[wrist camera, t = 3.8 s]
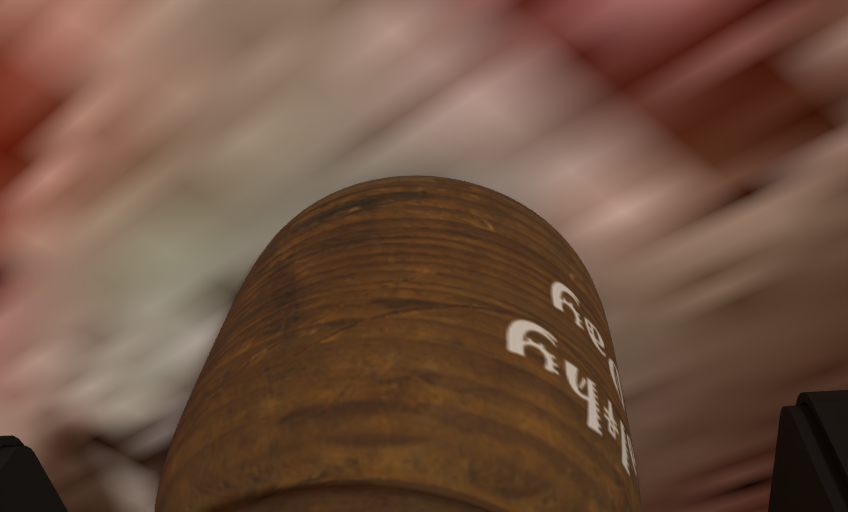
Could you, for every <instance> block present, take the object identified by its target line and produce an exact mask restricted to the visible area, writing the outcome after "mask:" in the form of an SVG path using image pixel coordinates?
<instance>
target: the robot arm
mask: <svg viewBox="0 0 848 512" xmlns="http://www.w3.org/2000/svg"><path fill="white" fill-rule="evenodd" d="M0 512H68V511H67V509H66V507H65V506H64V504H63V502H62V500H61V499H60V497H59V495H58V493H57V492H56V490H55V488H54V486H53V485H52V483H51V481H50V479H49V478H48V476H47V474H46V472H45V471H44V469H43V467H42V465H41V464H40V462H39V460H38V458H37V457H36V455H35V453H34V452H33V451H32V449H31V448H29V447H27V446H24V444H23V443H22V442H21V441H20V440H19V439H18V438H16V437H15V436H0ZM768 512H848V390H839V391H820V392H803V393H800V395H799V396H798V398H797V403H796V406H783V408H782V409H781V414H780V421H779V429H778V437H777V445H776V453H775V461H774V469H773V477H772V485H771V493H770V501H769V509H768Z"/></svg>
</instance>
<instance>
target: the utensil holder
mask: <svg viewBox="0 0 848 512" xmlns="http://www.w3.org/2000/svg"><path fill="white" fill-rule="evenodd" d="M155 512H642V511H641V500H640V491H639V483H638V477H637V470H636V464H635V458H634V452H633V447H632V441H631V436H630V430H629V425H628V419H627V414H626V409H625V404H624V398H623V393H622V388H621V383H620V378H619V373H618V368H617V363H616V358H615V353H614V348H613V343H612V339H611V335H610V331H609V327H608V323H607V320H606V316H605V313H604V310H603V306H602V303H601V300H600V298H599V295H598V293H597V291H596V288H595V286H594V283H593V281H592V279H591V277H590V275H589V273H588V271H587V269H586V267H585V266H584V264H583V263H582V261H581V260H580V258H579V257H578V255H577V254H576V252H575V251H574V250H573V248H572V247H571V246H570V245H569V243H568V242H567V241H566V240H565V239H564V238H563V237H562V236H561V235H560V233H559V232H558V231H557V230H555V229H554V228H553V227H552V226H551V225H550V224H549V223H548V222H546V221H545V220H544V219H543V218H541V217H540V216H539V215H537V214H536V213H535V212H533V211H532V210H530V209H529V208H527V207H526V206H524V205H522V204H521V203H519V202H517V201H515V200H513V199H511V198H510V197H508V196H505V195H503V194H501V193H499V192H496V191H494V190H491V189H488V188H486V187H483V186H480V185H476V184H473V183H469V182H465V181H461V180H456V179H450V178H443V177H435V176H398V177H388V178H382V179H376V180H371V181H367V182H363V183H359V184H356V185H353V186H350V187H347V188H344V189H342V190H340V191H337V192H335V193H333V194H330V195H329V196H327V197H325V198H323V199H321V200H319V201H317V202H316V203H314V204H312V205H311V206H309V207H308V208H306V209H305V210H303V211H302V212H301V213H300V214H298V215H297V216H296V217H294V218H293V219H292V220H291V221H290V222H289V223H288V224H287V225H286V226H285V227H283V228H282V229H281V230H280V231H279V233H278V234H277V235H276V236H275V237H274V238H273V239H272V241H271V242H270V243H269V245H268V246H267V247H266V249H265V250H264V251H263V253H262V254H261V255H260V257H259V258H258V260H257V261H256V263H255V264H254V266H253V268H252V270H251V271H250V273H249V275H248V276H247V278H246V280H245V282H244V284H243V285H242V287H241V289H240V291H239V293H238V295H237V297H236V299H235V301H234V303H233V305H232V307H231V309H230V311H229V313H228V315H227V318H226V320H225V322H224V324H223V326H222V328H221V330H220V332H219V335H218V337H217V339H216V341H215V343H214V345H213V347H212V350H211V352H210V354H209V356H208V358H207V360H206V362H205V365H204V367H203V369H202V371H201V373H200V376H199V378H198V380H197V382H196V384H195V387H194V389H193V391H192V393H191V396H190V398H189V400H188V402H187V405H186V407H185V409H184V412H183V414H182V416H181V419H180V421H179V423H178V426H177V428H176V431H175V434H174V436H173V439H172V442H171V444H170V447H169V450H168V453H167V456H166V460H165V463H164V466H163V470H162V473H161V477H160V482H159V487H158V493H157V498H156V504H155Z"/></svg>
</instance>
